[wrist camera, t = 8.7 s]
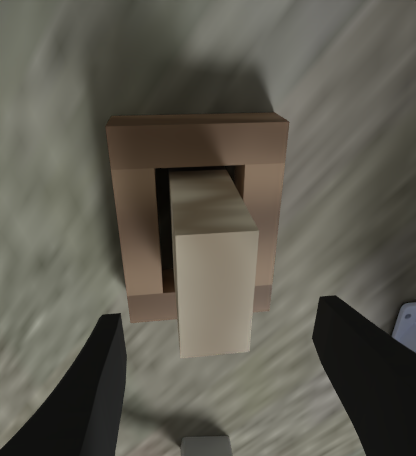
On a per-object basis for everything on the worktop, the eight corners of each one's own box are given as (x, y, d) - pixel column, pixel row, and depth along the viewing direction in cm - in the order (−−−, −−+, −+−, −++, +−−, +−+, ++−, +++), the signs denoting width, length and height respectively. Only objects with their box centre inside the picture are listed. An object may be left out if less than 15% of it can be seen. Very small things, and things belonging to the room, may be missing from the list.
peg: (222, 162, 20) (258, 230, 13) (220, 254, 23) (249, 351, 16) (168, 164, 20) (175, 235, 13) (172, 257, 22) (180, 358, 15)
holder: (259, 287, 24) (269, 310, 22) (132, 297, 23) (130, 322, 21) (274, 112, 19) (289, 121, 17) (111, 116, 18) (105, 126, 16)
